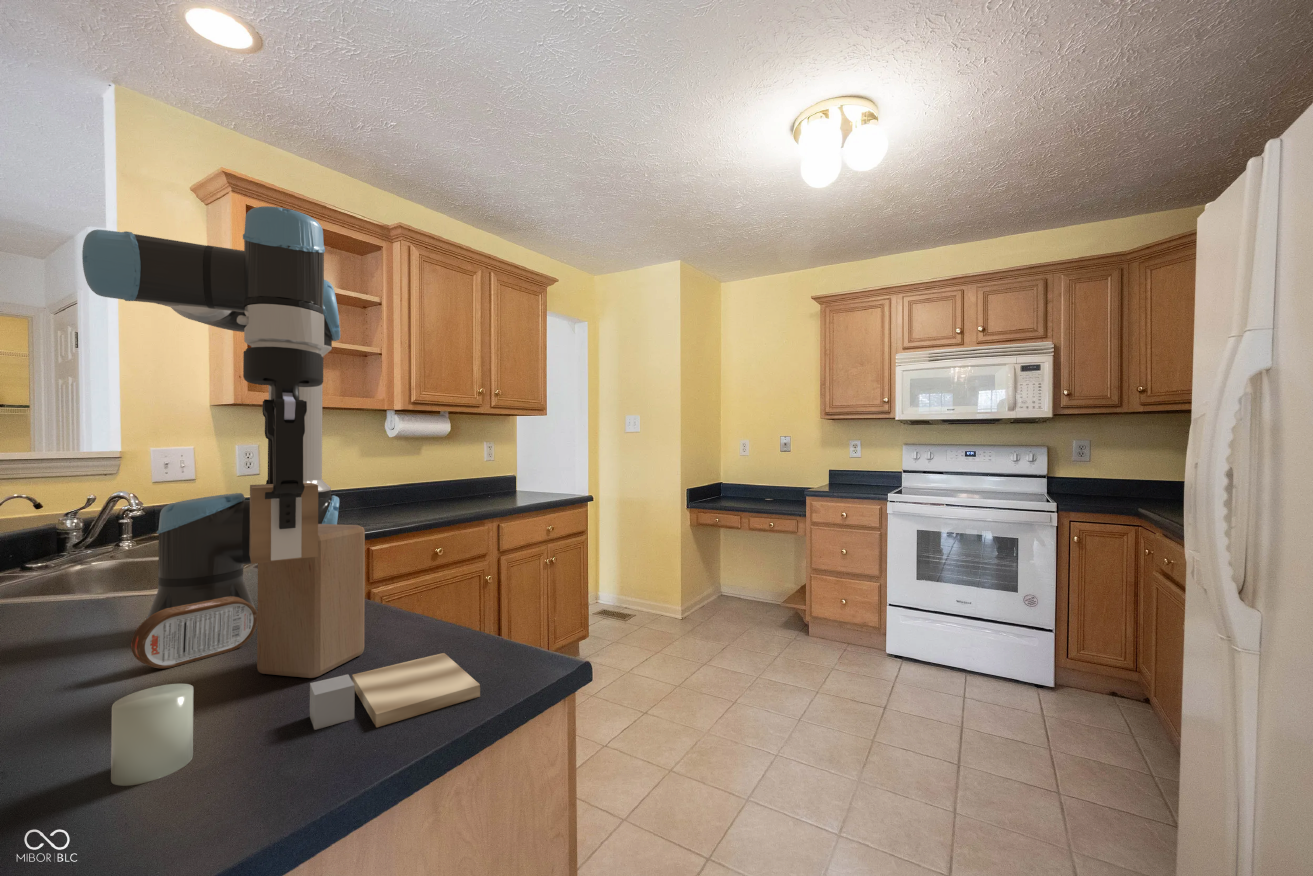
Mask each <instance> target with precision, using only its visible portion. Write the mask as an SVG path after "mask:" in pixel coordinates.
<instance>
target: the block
mask: <svg viewBox="0 0 1313 876" xmlns="http://www.w3.org/2000/svg"><path fill="white" fill-rule="evenodd" d="M365 535H366V530H365V528H364V527H363V526H361V525H358V524H338V523H337V524H318V556H317V557H308V558H299V559H291V560H282V561H273V562H264V563H257V615H258V619H257V626H256V629H257V630H256V631H257V632H256V633H257V634H256V635H257V636H256V638H257V639H256V641H257V643H256V644H257V650H256V651H257V653H256V654H257V655H256V656H257V659H256V663H257V664H256V668H257V671H258V672H259V673H260V674H263V675H265V674H266V675H276V676H285V677H296V678H297V677H298V678H307V679H315V678H318V677H320V676H322V675H323V674H326V673H327V672H330V671H331V670H334V669H336V668H337V667H339V666H341V665H343V664H346V663H347V662H350V661H351V660H353V659H355V658H356V657H359V656H361V655H362V654H363V653H364V650H365V599H366V598H365V593H366V592H365V590H366V589H365V582H366V581H365V580H366V579H365V576H366V573H365V566H366V565H365V562H366V557H365V555H366V554H365V553H366V552H365V549H366V547H365V545H366V544H365V543H366V541H365V540H366V538H365Z"/></svg>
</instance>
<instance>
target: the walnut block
mask: <svg viewBox="0 0 1313 876" xmlns="http://www.w3.org/2000/svg"><path fill="white" fill-rule="evenodd" d="M303 484H304V485H305V488H304V491H303V493H302V495H301V498H302V537H301V557H300V558H308V557H317V556H318V485H317V484H314V483H303ZM272 491H273V484H266V483H264V484H263V483H262V484H250V485H249V501H250V560H251V564H252V565H254V564H258V563H264V562H273V561H282V560H291V559H299V558H291V559H282V560H272V561H271V499H265V492H272Z"/></svg>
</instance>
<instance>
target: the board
mask: <svg viewBox="0 0 1313 876" xmlns="http://www.w3.org/2000/svg"><path fill="white" fill-rule="evenodd" d="M351 680H352V682H353V683H354V685H355V694H356V695H357V696H358V698H359V700H360V702H361V703H362V705H363V707H364V710H366V712H367V714H368V716H369V717H370V719H371V721H372V723H373V724H374V726H375V728H380V727H383V726H386V725H390V724H394V723H396V722H399V721H403V720H407V719H410V718H414V717H416V716H420V715H423V714H426V713H429V712H433V711H436V710H440V709H443V708H446V707H449V706H450V707H451V706H452V705H457V704H459V703H460V704H461V703H464V702H466V701H467V702H468V701H470V700H473V699H477V698H480V697H481V684H480V683H479V682H478V681H476V680H475V679H474V678H473V677H472V676H471V675H470V674H469V673H468V672H467V671H465V670H464V669H463V668H462V667H461V666H460V665H459V664H458V663H456V662H455V661H454V660H453V659H452V658H450V656H449V655H447V654H446V653H445V652H443V653H437V654H434V655H433V654H432V655H429V656H425V657H420V658H417V659H412V660H408V661H403V662H400V663H395V664H391V665H387V666H383V667H379V668H374V669H372V670H365V671H363V672H358V673H354V674H351Z"/></svg>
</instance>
